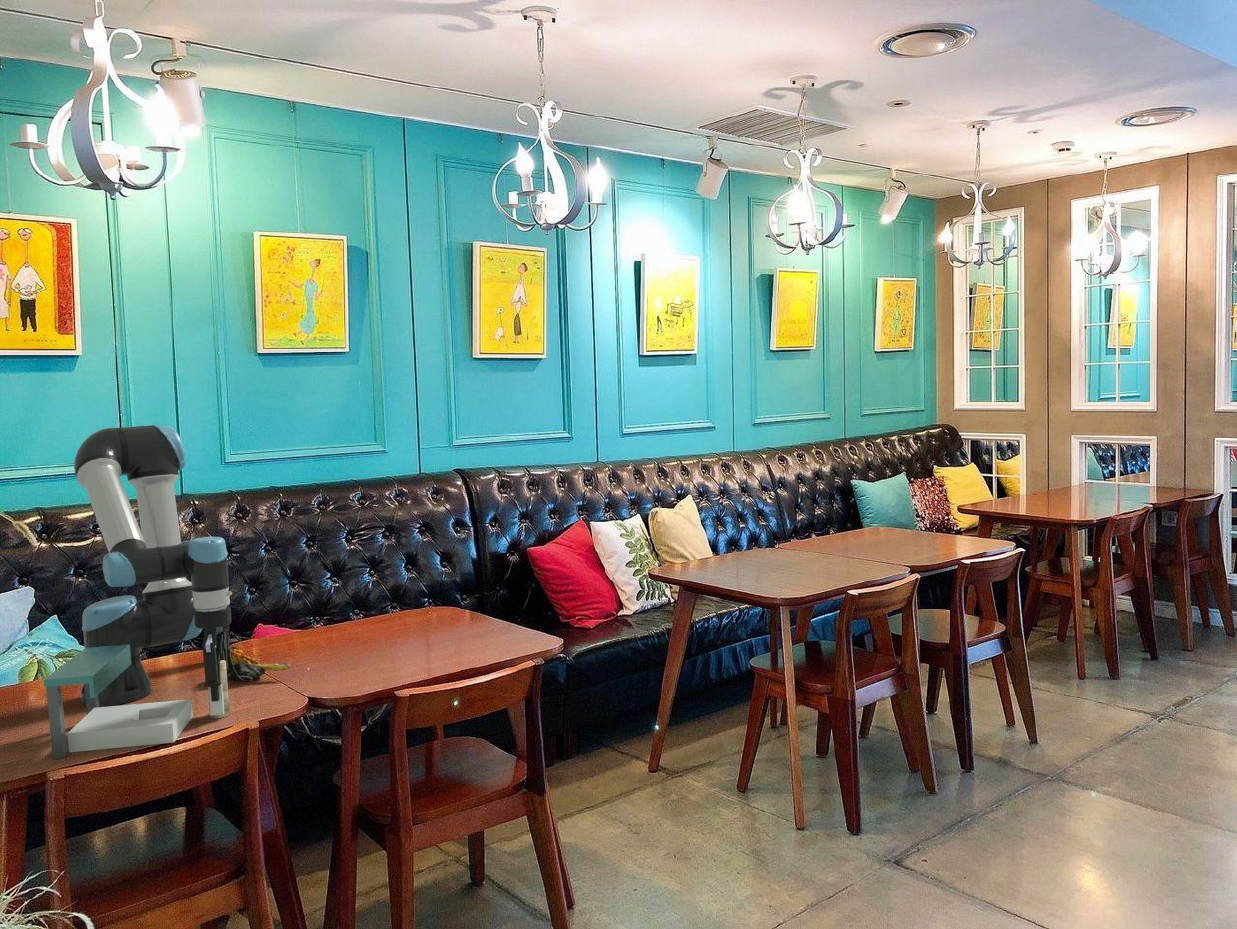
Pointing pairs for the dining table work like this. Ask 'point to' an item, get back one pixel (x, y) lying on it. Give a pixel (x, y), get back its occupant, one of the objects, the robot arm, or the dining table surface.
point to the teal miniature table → (88, 669)
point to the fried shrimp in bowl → (248, 665)
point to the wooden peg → (225, 690)
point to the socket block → (130, 725)
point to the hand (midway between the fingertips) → (219, 710)
